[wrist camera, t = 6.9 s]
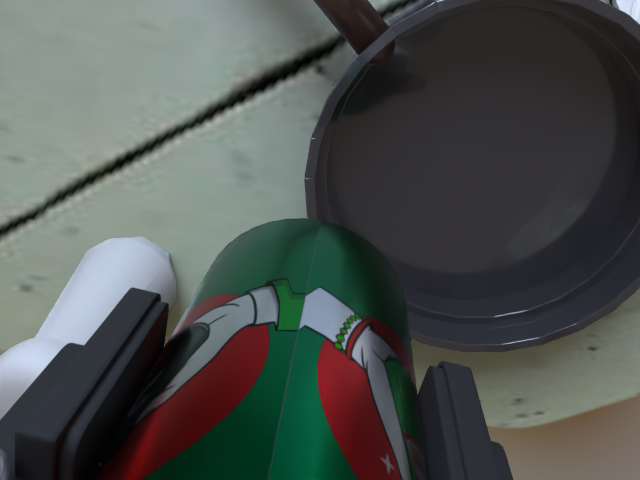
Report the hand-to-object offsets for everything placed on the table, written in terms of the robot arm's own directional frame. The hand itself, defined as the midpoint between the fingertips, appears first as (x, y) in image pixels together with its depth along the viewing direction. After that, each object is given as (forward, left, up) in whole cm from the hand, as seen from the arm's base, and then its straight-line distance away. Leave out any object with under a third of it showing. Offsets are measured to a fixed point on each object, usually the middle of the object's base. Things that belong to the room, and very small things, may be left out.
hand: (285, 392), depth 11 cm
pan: (-5, +6, -22) cm, 23 cm away
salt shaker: (+15, -2, -22) cm, 26 cm away
